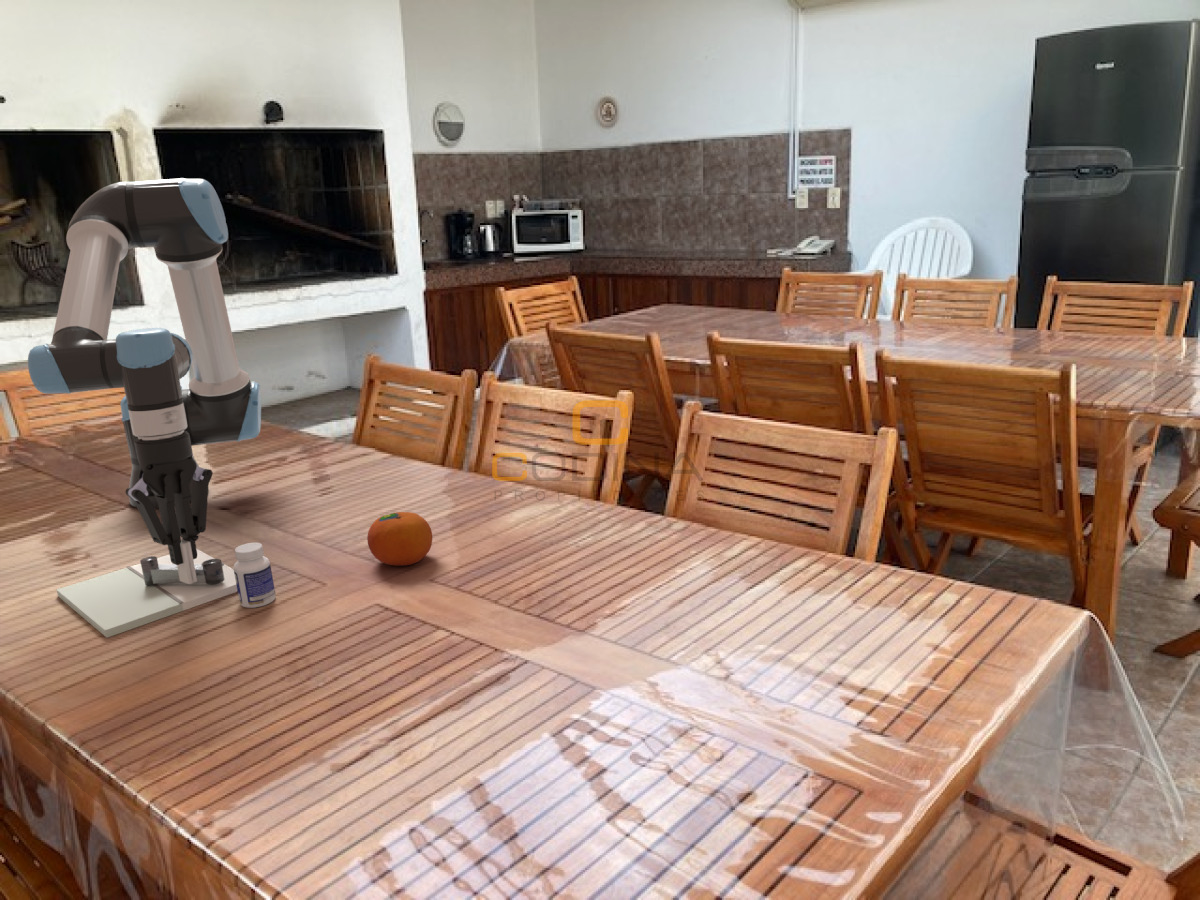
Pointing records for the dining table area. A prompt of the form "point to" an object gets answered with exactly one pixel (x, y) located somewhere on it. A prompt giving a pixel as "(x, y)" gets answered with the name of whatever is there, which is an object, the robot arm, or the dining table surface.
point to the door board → (139, 597)
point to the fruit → (400, 538)
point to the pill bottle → (253, 576)
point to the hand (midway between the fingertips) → (188, 580)
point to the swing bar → (168, 573)
